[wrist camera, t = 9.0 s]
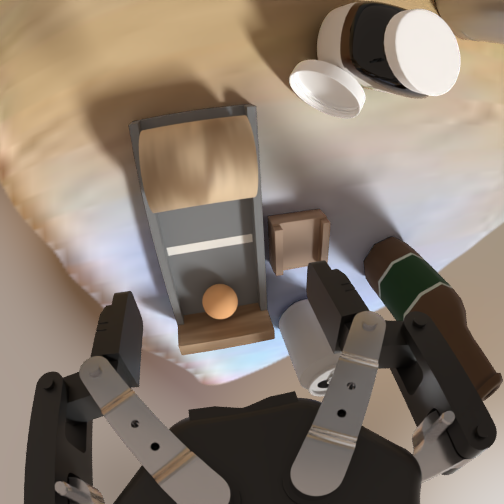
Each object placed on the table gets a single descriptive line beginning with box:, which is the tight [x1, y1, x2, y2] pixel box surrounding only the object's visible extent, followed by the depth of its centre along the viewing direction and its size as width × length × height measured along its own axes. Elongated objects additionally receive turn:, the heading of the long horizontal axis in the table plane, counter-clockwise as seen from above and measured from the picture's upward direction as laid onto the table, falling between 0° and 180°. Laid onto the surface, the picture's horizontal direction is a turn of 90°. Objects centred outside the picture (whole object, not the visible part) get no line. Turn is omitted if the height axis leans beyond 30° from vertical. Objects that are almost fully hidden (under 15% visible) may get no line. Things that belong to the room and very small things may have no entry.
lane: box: [129, 104, 267, 325], centre depth 31 cm, size 23×11×2 cm, turn 4°
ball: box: [202, 284, 238, 319], centre depth 35 cm, size 4×4×4 cm
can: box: [279, 299, 342, 396], centre depth 38 cm, size 8×8×12 cm
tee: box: [268, 209, 330, 276], centre depth 34 cm, size 6×6×3 cm
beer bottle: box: [364, 237, 503, 401], centre depth 30 cm, size 8×8×24 cm
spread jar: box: [289, 1, 460, 118], centre depth 21 cm, size 12×11×12 cm
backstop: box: [178, 303, 275, 355], centre depth 37 cm, size 2×11×6 cm, turn 94°
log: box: [139, 115, 258, 213], centre depth 24 cm, size 7×8×7 cm
